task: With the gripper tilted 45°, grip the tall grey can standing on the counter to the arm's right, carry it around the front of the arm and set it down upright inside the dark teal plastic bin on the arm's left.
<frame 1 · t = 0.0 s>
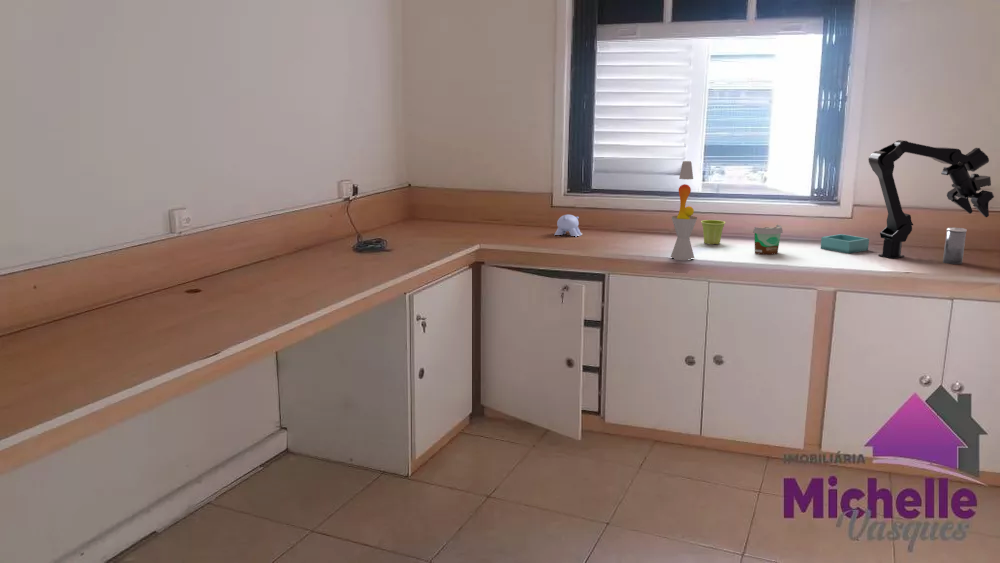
hand: (979, 214, 293), 15 cm above the worktop, tool tilted 35°, fingers open, 9 cm apart
teal bin: (844, 249, 308), on the worktop
grey can: (952, 262, 284), on the worktop
hippopotamus toy: (569, 235, 344), on the worktop
plant pot: (712, 243, 322), on the worktop
food container: (770, 254, 301), on the worktop
lava lamp: (682, 258, 294), on the worktop
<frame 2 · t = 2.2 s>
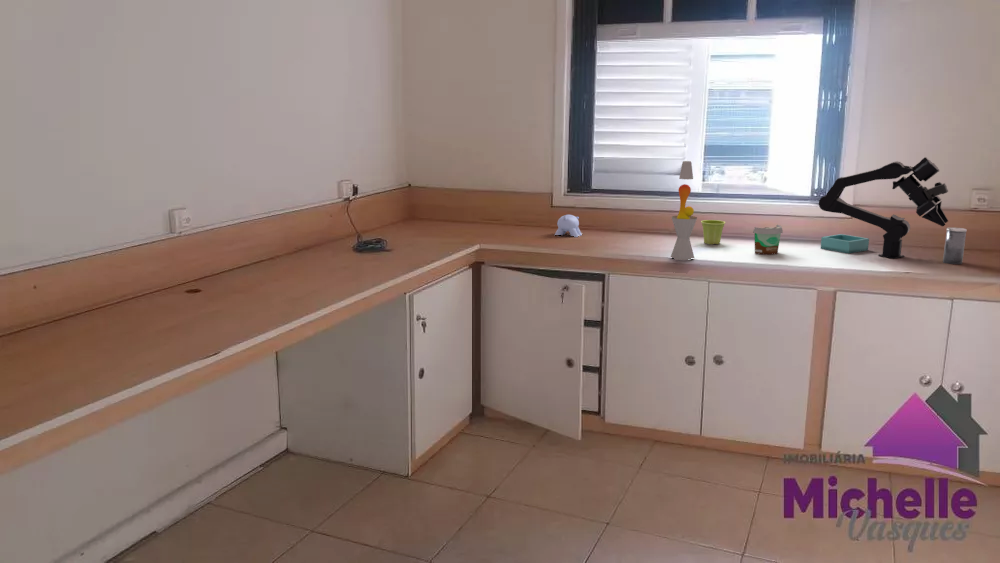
hand: (945, 223, 283), 13 cm above the worktop, tool tilted 45°, fingers open, 9 cm apart
nothing on the worktop moved.
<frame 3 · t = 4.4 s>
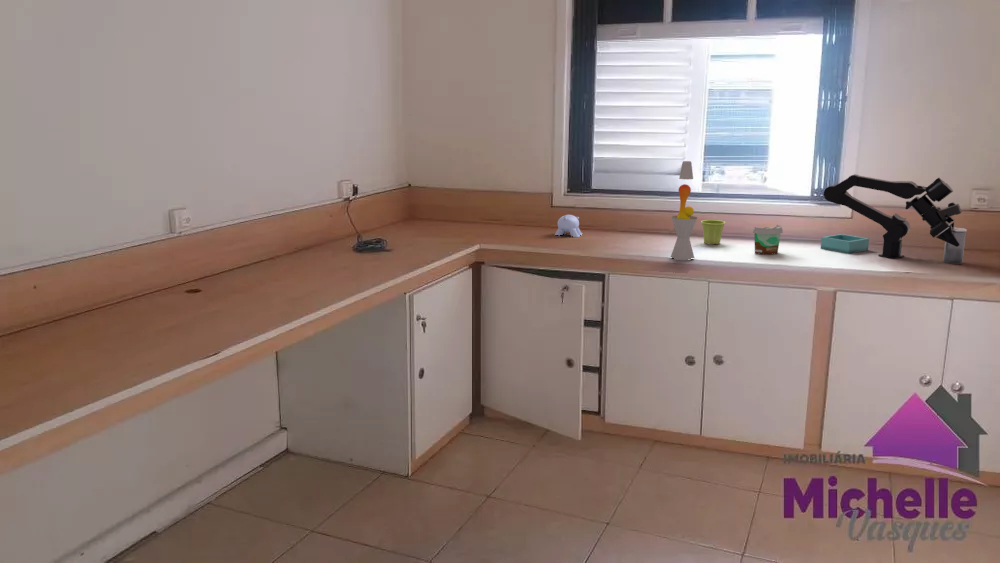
hand: (959, 244, 282), 7 cm above the worktop, tool tilted 45°, fingers closed on grey can, 6 cm apart
grey can: (952, 262, 284), on the worktop, touching gripper
everything else where it was.
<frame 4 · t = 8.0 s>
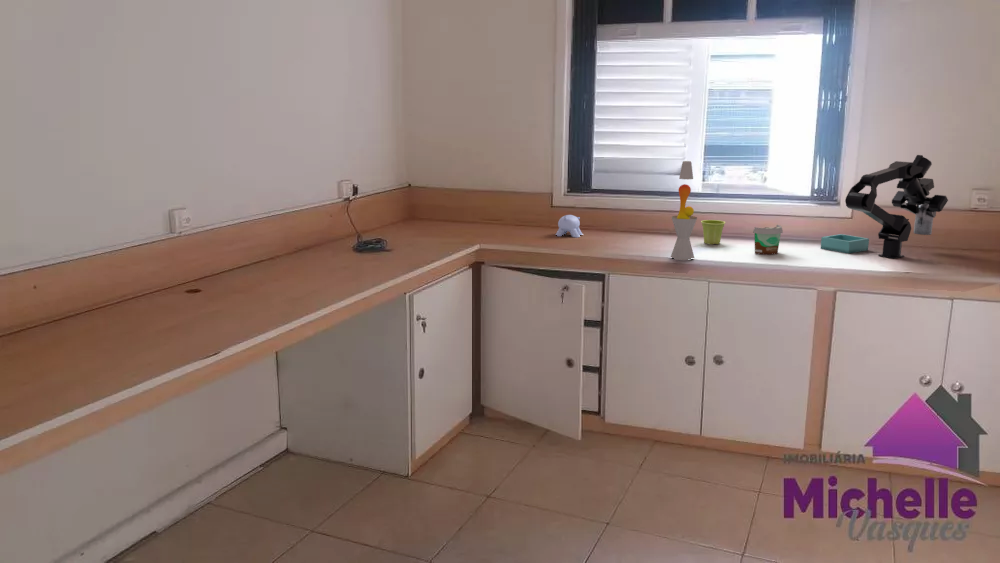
hand: (926, 215, 301), 13 cm above the worktop, tool tilted 45°, fingers closed on grey can, 6 cm apart
grey can: (922, 233, 302), point 7 cm above the worktop, touching gripper
everything else where it was.
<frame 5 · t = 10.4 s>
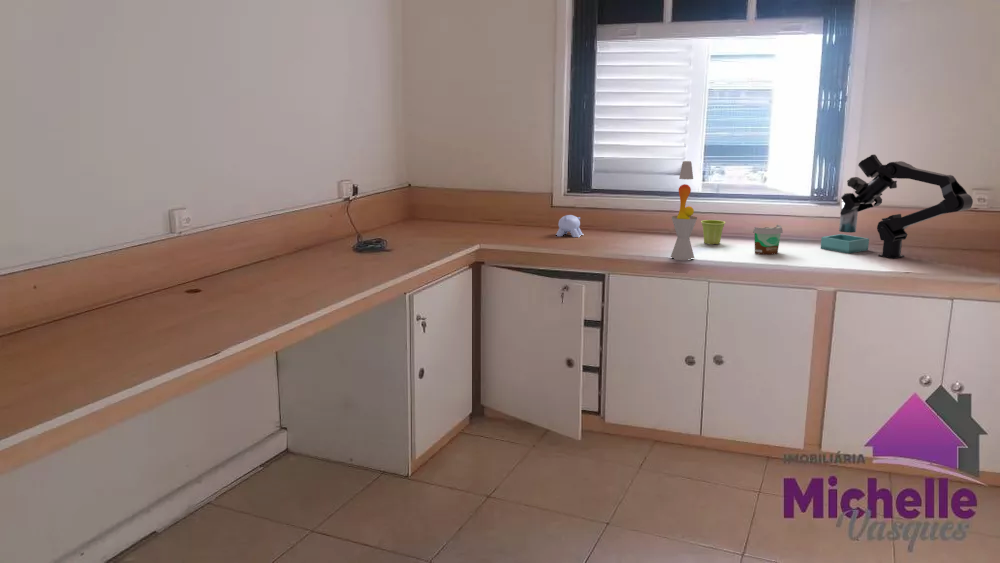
hand: (846, 213, 307), 13 cm above the worktop, tool tilted 45°, fingers closed on grey can, 6 cm apart
grey can: (847, 231, 308), point 7 cm above the worktop, touching gripper
when the fingers open (9 cm above the worktop, at t = 12.1 s): grey can drops 1 cm, resting on teal bin.
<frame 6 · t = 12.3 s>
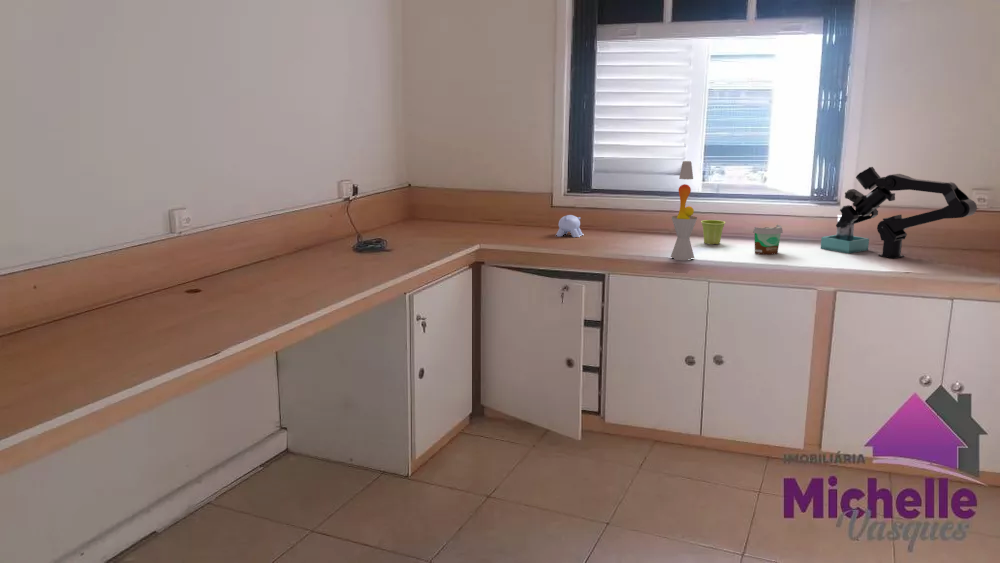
hand: (842, 225, 307), 9 cm above the worktop, tool tilted 45°, fingers open, 8 cm apart
grey can: (844, 246, 308), point 1 cm above the worktop, touching teal bin
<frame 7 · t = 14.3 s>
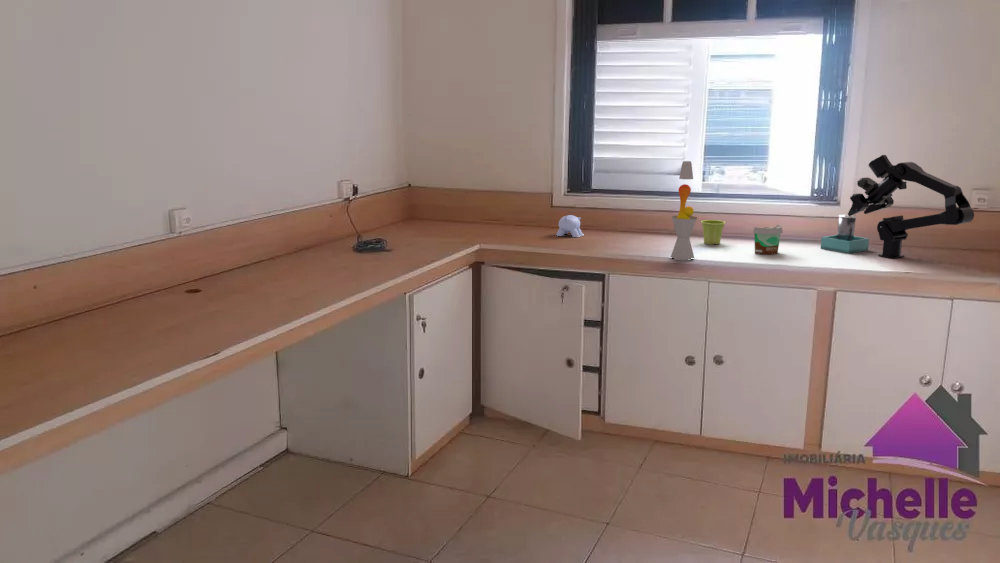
hand: (856, 214, 305), 14 cm above the worktop, tool tilted 45°, fingers open, 9 cm apart
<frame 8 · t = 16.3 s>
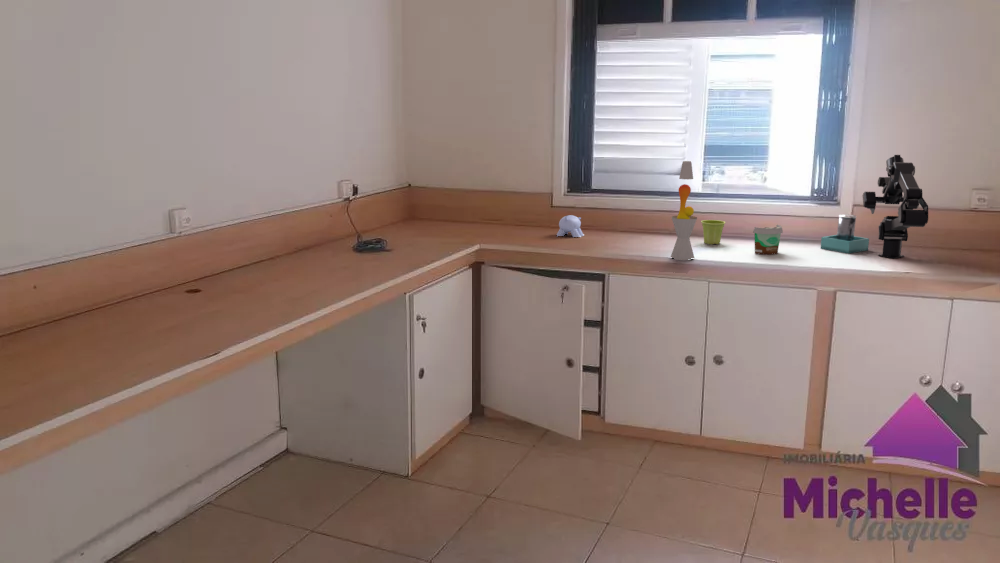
hand: (885, 213, 306), 14 cm above the worktop, tool tilted 45°, fingers open, 9 cm apart
at the end: grey can inside the target area on the teal bin (0.1 cm from its centre), point 1.0 cm above the teal bin's base; grey can tilted 1°; the gripper is holding nothing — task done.
